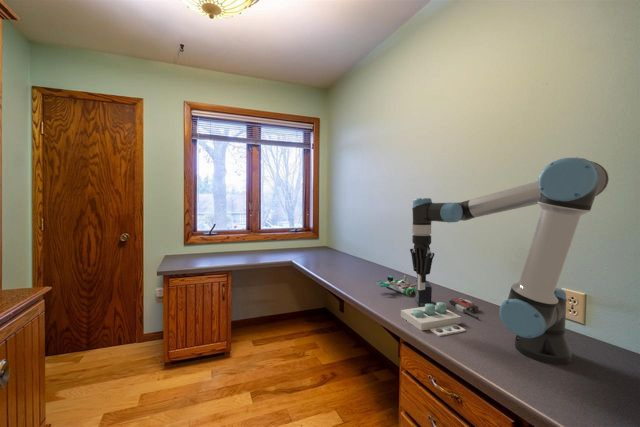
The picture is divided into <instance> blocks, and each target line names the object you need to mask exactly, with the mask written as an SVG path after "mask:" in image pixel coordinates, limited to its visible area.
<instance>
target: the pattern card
mask: <svg viewBox="0 0 640 427" xmlns="http://www.w3.org/2000/svg"><path fill="white" fill-rule="evenodd" d="M429 331H430V332H432V333H434V334H435V335H437V336H438V337H443V336H447V335H452V334H458V333H459V334H460V333H463V332H467V329H465V328H464V327H462V326H459V324H456V325H450V326H444V327H439V328H433V329H429Z"/></svg>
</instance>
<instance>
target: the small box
mask: <svg viewBox="0 0 640 427" xmlns="http://www.w3.org/2000/svg"><path fill="white" fill-rule="evenodd" d="M415 284H416V294H415V302H416V304H417V308H419V307H425V304H432V299H433V298H432V294H433V293H432V292H433V287H432V285H431V284H430V282H429V280H426V283H425V290H418V281H417V279H416V281H415Z"/></svg>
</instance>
